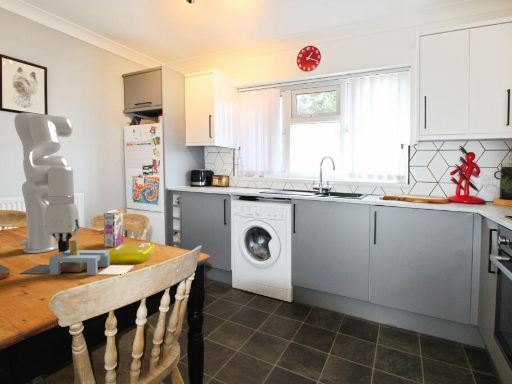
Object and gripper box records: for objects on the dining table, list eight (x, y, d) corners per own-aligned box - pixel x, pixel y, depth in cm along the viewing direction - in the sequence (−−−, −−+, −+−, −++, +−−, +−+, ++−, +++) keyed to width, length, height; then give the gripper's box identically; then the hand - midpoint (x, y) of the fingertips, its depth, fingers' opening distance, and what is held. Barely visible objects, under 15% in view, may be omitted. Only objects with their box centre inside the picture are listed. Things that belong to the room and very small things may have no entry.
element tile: (121, 252, 127) (121, 242, 127) (156, 252, 128) (155, 242, 128) (106, 264, 112) (105, 252, 112) (145, 263, 113) (145, 252, 113)
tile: (97, 274, 100) (97, 273, 100) (110, 266, 109) (110, 265, 109) (123, 275, 100) (123, 274, 100) (134, 266, 109) (134, 265, 109)
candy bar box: (115, 247, 134) (114, 212, 132) (104, 247, 133) (102, 212, 132) (124, 241, 145) (123, 209, 144) (113, 241, 145) (112, 209, 143)
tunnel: (49, 274, 100) (49, 257, 99) (67, 265, 109) (66, 249, 108) (95, 275, 100) (95, 258, 99) (109, 265, 109) (109, 250, 109)
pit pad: (20, 273, 100) (20, 273, 100) (39, 265, 109) (39, 264, 109) (46, 274, 100) (45, 273, 100) (63, 265, 109) (63, 264, 109)
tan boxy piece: (60, 271, 101) (59, 242, 101) (70, 266, 107) (69, 238, 106) (80, 271, 101) (79, 242, 101) (89, 266, 107) (88, 238, 106)
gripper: (32, 201, 98) (35, 254, 100) (75, 202, 98) (78, 254, 100) (48, 199, 106) (50, 248, 107) (88, 199, 106) (90, 248, 107)
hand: (63, 251), depth 104 cm, fingers closed
